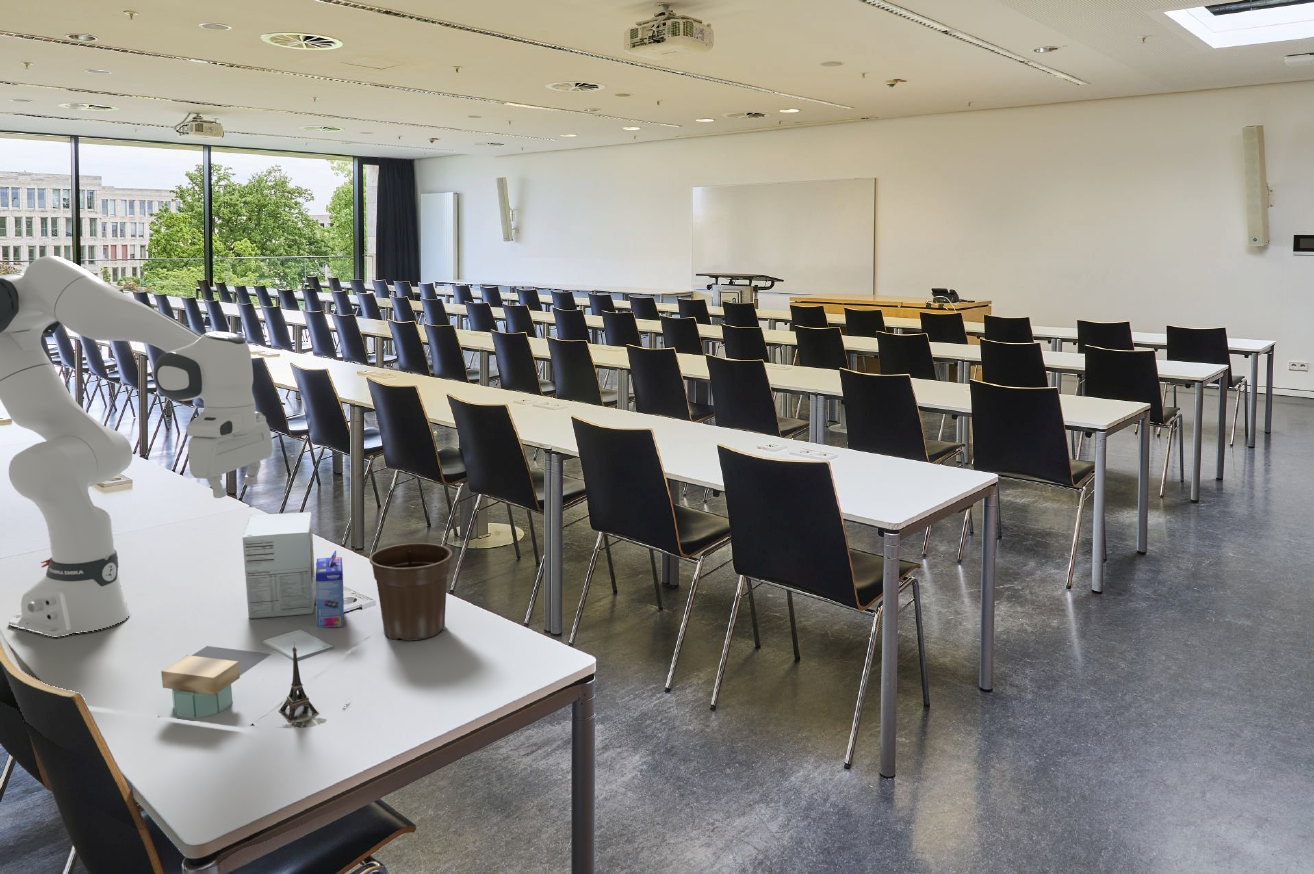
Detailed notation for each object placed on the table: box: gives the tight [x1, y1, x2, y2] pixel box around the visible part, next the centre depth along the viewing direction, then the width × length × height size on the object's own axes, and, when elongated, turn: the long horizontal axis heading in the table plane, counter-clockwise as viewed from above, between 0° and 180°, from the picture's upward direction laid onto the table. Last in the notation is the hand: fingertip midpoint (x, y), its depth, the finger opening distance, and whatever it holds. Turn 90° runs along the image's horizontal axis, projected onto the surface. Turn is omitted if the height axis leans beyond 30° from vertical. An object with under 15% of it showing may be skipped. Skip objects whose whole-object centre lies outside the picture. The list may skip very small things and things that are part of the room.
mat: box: [190, 645, 272, 676], centre depth 184 cm, size 14×12×1 cm
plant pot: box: [368, 542, 453, 641], centre depth 201 cm, size 16×16×16 cm
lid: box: [160, 655, 241, 695], centre depth 167 cm, size 10×6×3 cm, turn 77°
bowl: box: [171, 684, 233, 722], centre depth 168 cm, size 9×9×4 cm
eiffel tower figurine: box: [250, 645, 351, 730], centre depth 166 cm, size 15×10×13 cm
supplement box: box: [242, 511, 316, 620], centre depth 214 cm, size 17×13×18 cm
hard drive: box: [262, 629, 335, 661], centre depth 193 cm, size 2×8×12 cm
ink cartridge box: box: [315, 550, 345, 629], centre depth 205 cm, size 10×6×14 cm, turn 18°
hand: (236, 490), depth 188 cm, fingers open, 8 cm apart
